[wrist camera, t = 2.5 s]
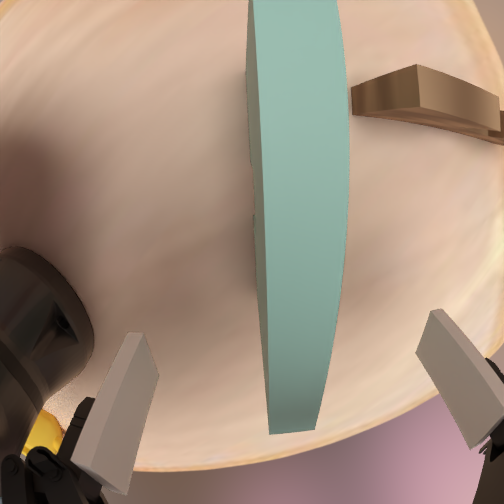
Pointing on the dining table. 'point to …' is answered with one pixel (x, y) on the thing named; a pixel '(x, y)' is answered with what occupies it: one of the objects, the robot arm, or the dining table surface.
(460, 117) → the walnut plate
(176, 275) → the dining table surface
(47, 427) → the yellow lumpy piece
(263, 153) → the sage plate
